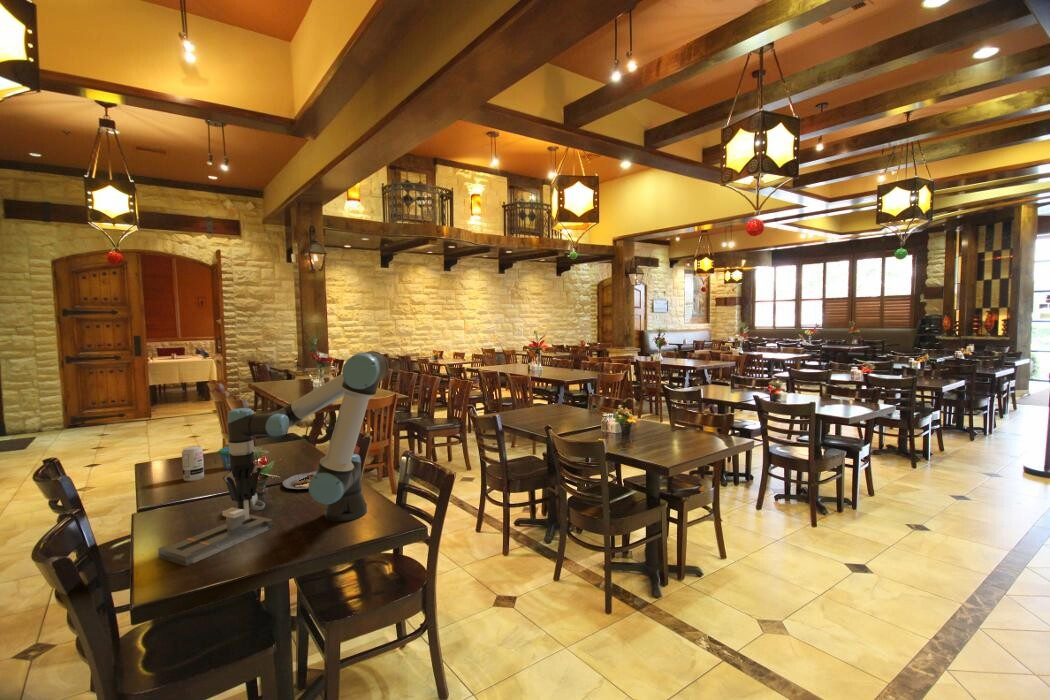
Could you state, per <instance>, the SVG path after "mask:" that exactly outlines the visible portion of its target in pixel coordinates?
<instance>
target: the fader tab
mask: <svg viewBox="0 0 1050 700" xmlns="http://www.w3.org/2000/svg"><path fill="white" fill-rule="evenodd" d="M244 514H245V510H243V509H239V508H234V507H233V506H232V507H230V508H228V509H226V510H223V511H222V517H225V518H226V519H225V522H226V523H225V524H226V525H227V532H228V531H230V530H233V529H235V528H238V527H240V526H242V515H244Z"/></svg>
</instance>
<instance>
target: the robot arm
mask: <svg viewBox="0 0 1050 700" xmlns="http://www.w3.org/2000/svg"><path fill="white" fill-rule="evenodd" d="M341 371H342V373H341V374H339V375H337V376H336V377H333V379H330V380H328V381H327V382H325V383H323V384H322V385H320V386H319V387H316V388H315V389H313V390H312V391H310V392H308V393H306V394H305V395H303V396H301V397H300V398H298V399H296V400H294V401H293V402H291V403H289V404H287V405H286V406H284V407H282V408H280V409H277V410H275V411H272V412H270V413H265V414H255V413H253V409H251V408H248V407H241V408H234V409H231V410H228V412H227V431H228V432H227V433H228V447H229V453H230V456H229V458H230V466H231V469H229V473H228V474H227V475H225V476H223V477H222V480H223V481H224V482H225V483H226V486H227V490H228V492H229V496H230V499H231V501H233V502H234V501H236V502H238V508H239V509H243V510H245V514H244V515H242V519H248V518H249V514H250V511H249V508H250V506H251V504H250V500H251V499H252V496H255V494H257V489H258V481H259V476H260V473H261V471H262V467H257V466H256V465H255V463H254V462H255V452H254V450H255V446H254V445H255V444H254V437H258V436H259V437H278V436H284V435H286V434H287V432H288V431H289V429H290V428H291V427H293V426H295V425H297V424H298V423H300V422H301V421H303V420H304V419H306V418H308V417H310V416H312V415H313V414H315V413H316V412H319V411H320V410H322V409H324V408H326V407H327V406H329V405H331V404H333V403H334V402H336V401H337V400H339V399H341V398H342V400H341V404H340V407H339V411H338V414H337V418H336V421H335V425H334V427H333V432H332V434H331V437H330V441H329V444H328V447H327V451H326V455H325V456H323V457H322V458H320V460H319V463H318V466H317V468H316V471H317V472H316V475H314V476H313V477H312V479H311V480H310V483H309V488H308V493H309V495H310V496H311V498H312V499H313V501H315V502H317V503H319V504H322V505H326V508H325V510H324V518H325V519H326V520H327V521H329V522H330V521H331V522H347V521H352V520H356V519H359V518H361V517H363V516H365V515H366V514H367V513H368V505H367V503H366V501H365V498H364V494H363V490H362V461H361V456H360V455H359V454H357V453H354V452H355V449H356V445H357V443H358V442H357V441H358V439H359V435H360V431H361V428H362V425H363V422H364V418H365V415H366V411H367V408H368V405H369V402H370V399H371V398H373V397H374V396H376V393H377V390H378V388H379V383H380V382H381V381H382V380H384V379H385V377H386V376H387V374H388V371H389V361H388V359H387V358H386V356H384V355H383V354H382V353H380V352H378V351H373V350H372V351H370V350H369V351H366V352H358V353H356V354H354V355H351V356H350V357H349V358H348V359H347V360H346V361H345V362H344V364H343V365H342V370H341Z"/></svg>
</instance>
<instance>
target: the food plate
mask: <svg viewBox="0 0 1050 700" xmlns="http://www.w3.org/2000/svg"><path fill="white" fill-rule="evenodd" d="M316 472H317V470H315V471H309V472H303V473H299V474H294V475H292V476H290V477H288V478H286V479H285V480H283V481H282V485H283V487H285V488H286V489H295V490H298V491H300V490H301V489H302V490H305V489H306V490H307V489H309V483H310V480H311V479H312V477H313V476H314V475H316ZM307 476H309V479H306V480H305V479H304V480H301V479H303V478H305V477H307ZM299 480H301V481H299ZM306 483H307V484H306ZM302 484H303V485H302Z"/></svg>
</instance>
